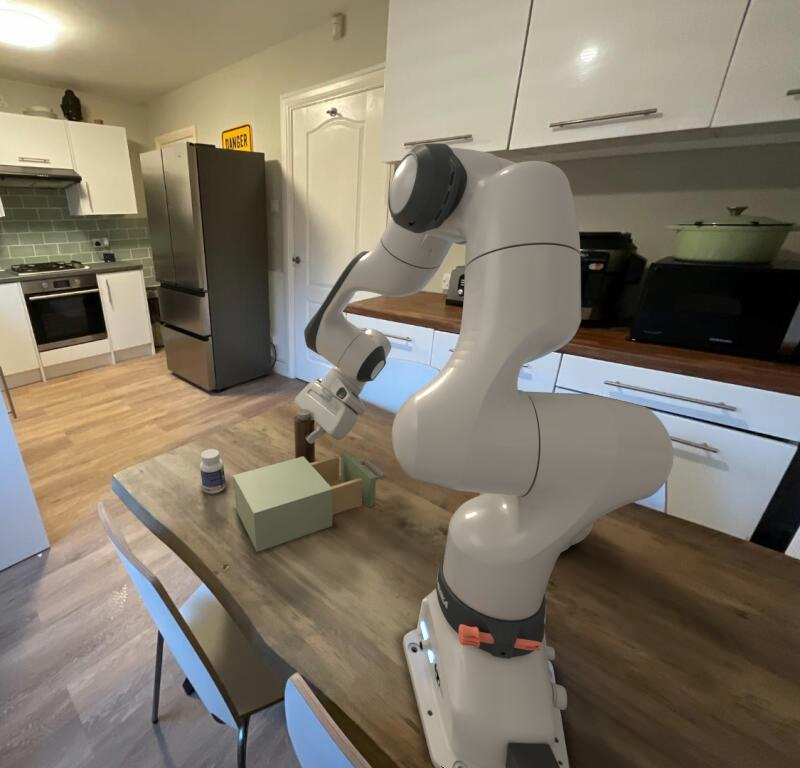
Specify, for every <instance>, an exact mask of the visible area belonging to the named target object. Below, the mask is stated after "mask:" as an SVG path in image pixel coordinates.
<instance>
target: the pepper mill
mask: <svg viewBox="0 0 800 768" xmlns="http://www.w3.org/2000/svg"><path fill="white" fill-rule="evenodd" d="M296 411H297V412H296V415H295V416H294V417H293V432H294V459H295V458H299V457H303V456H304V457H305V459H306V460H307V461H308V462H309V463H313V462H316V443H315V442H316V440H315V441H314V442H313V443H312V444H310V443H309V442H308V441H307V440H306V439H305V436H307V434H308V433H310V434H311V433H312V432H314V431H315V430H316V427H315V421H314V420H313V419H312V418H311V411H310V410H308V409H301V408H300V409H298V410H296Z"/></svg>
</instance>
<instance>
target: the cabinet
mask: <svg viewBox="0 0 800 768" xmlns="http://www.w3.org/2000/svg"><path fill="white" fill-rule="evenodd" d="M232 479H233V489H234V498H235V499H234V500H235V508H236V509H235V510H236V513H237V514H238V516H239V518H240V520H241V522H242V524H243V526H244V528H245V531H246V533H247V535H248V537H249V539H250V541H251V543H252V546H253V547H254V550H255V551H256V552H257V553H258V552H262V551H264V550H267V549H270V548H272V547H276V546H278V545H281V544H284V543H287V542H289V541H293V540H295V539H299V538H301V537H304V536H308V535H310V534H313V533H316V532H319V531H322V530H324V529H328V528H330V527H333V515H332V506H333V489H332V488H331V487H330V485H329V484H328V483H327V482H326V481H325V480H324V479H323V478H322V476H321V475H320V474H319V473H318V472H317V471H316V470H315V469H314V468H313V466H312V465H311V464H310V463H309V462H308V461H307V460H306V459H305V457H304V456H303V457H299V458H295V457H294V458H292V459H289V460H285V461H281V462H277V463H273V464H269V465H266V466H262V467H258V468H255V469H250V470H247V471H244V472H241V473H236V474H233V475H232Z"/></svg>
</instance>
